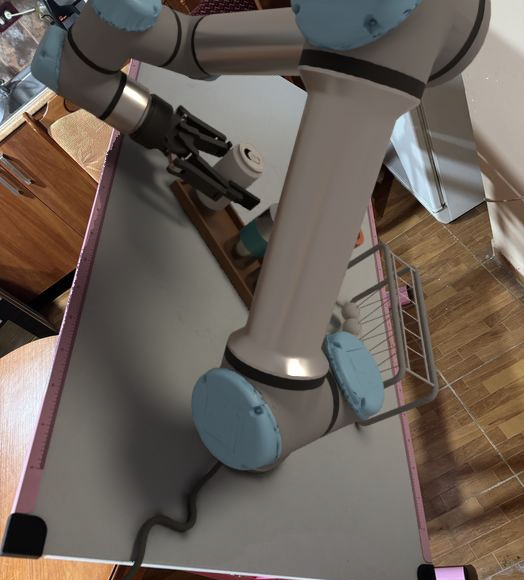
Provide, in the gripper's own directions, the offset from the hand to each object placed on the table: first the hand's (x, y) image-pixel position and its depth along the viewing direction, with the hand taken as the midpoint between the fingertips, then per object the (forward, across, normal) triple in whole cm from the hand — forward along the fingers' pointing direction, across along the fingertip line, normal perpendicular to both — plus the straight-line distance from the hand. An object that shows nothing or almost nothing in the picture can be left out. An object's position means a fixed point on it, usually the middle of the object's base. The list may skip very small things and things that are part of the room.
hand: (254, 190), depth 97 cm
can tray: (+1, +6, -8) cm, 11 cm away
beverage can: (-5, 0, -7) cm, 8 cm away
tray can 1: (+3, +8, -8) cm, 12 cm away
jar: (+24, -4, -8) cm, 26 cm away
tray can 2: (+8, +13, -8) cm, 17 cm away
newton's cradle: (+29, +18, -9) cm, 35 cm away
